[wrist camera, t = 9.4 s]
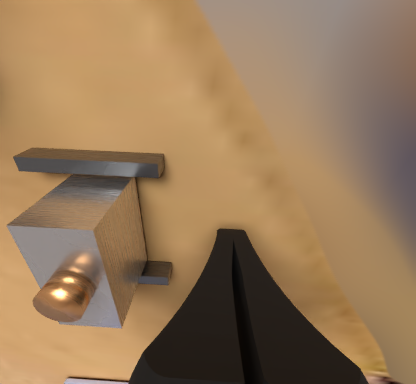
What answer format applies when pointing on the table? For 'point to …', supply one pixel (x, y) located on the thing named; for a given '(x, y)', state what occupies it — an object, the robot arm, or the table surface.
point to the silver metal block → (84, 249)
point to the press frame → (101, 165)
